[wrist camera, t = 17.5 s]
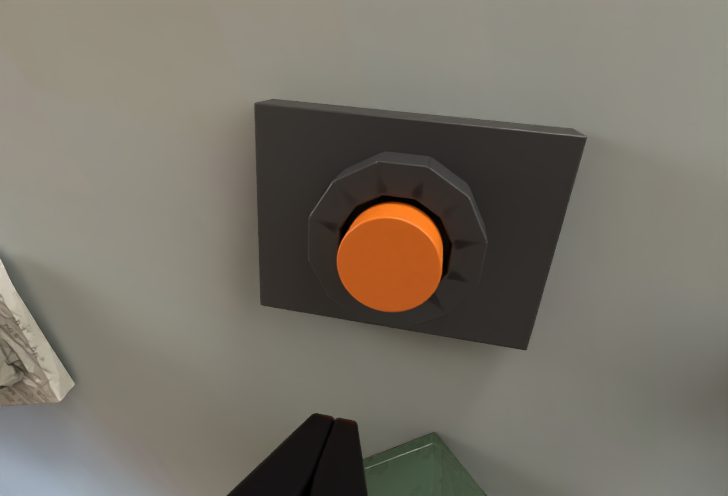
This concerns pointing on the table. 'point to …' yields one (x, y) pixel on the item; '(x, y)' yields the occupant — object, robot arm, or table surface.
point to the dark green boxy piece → (418, 471)
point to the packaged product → (26, 355)
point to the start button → (391, 257)
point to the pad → (423, 190)
